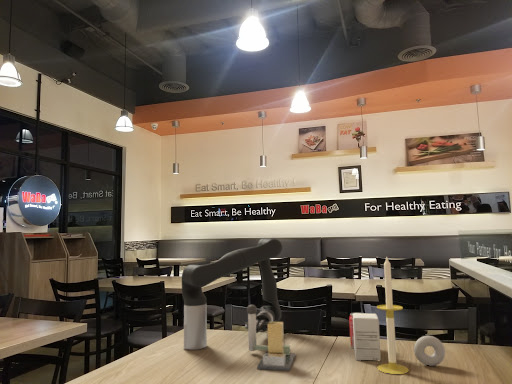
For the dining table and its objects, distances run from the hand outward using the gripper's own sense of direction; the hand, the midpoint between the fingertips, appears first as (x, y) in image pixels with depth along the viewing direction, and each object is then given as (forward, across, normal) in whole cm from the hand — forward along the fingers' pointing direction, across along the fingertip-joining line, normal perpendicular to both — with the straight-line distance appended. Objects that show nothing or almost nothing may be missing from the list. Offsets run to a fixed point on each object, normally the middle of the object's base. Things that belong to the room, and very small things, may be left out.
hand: (254, 330), depth 156 cm
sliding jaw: (+5, +6, +6) cm, 10 cm away
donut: (+9, +63, +8) cm, 64 cm away
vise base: (+13, +11, +7) cm, 19 cm away
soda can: (-10, +40, +8) cm, 42 cm away
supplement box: (+2, +43, +8) cm, 43 cm away
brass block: (+14, +11, +6) cm, 19 cm away
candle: (+14, +50, +8) cm, 53 cm away
